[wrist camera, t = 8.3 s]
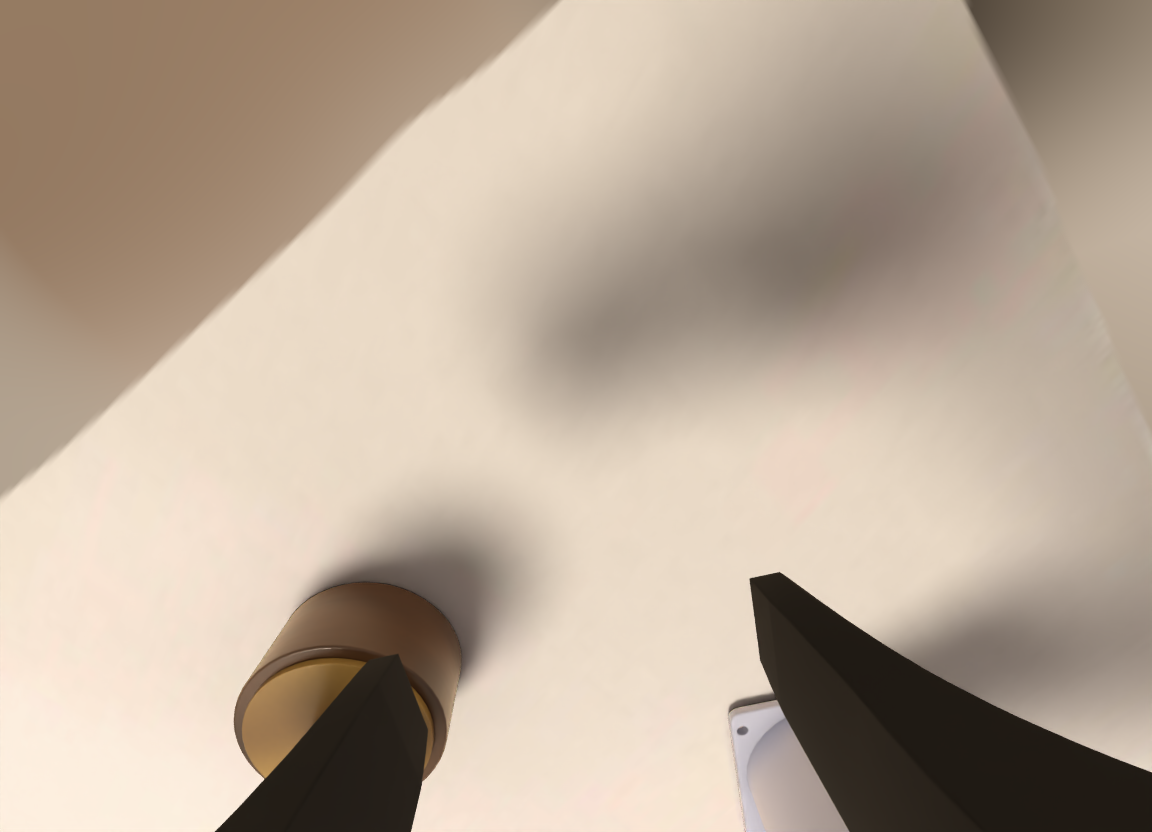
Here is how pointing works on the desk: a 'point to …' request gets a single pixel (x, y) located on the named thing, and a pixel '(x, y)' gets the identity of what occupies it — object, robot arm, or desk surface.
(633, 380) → the desk surface
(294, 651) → the walnut stand
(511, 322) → the desk surface
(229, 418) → the desk surface
